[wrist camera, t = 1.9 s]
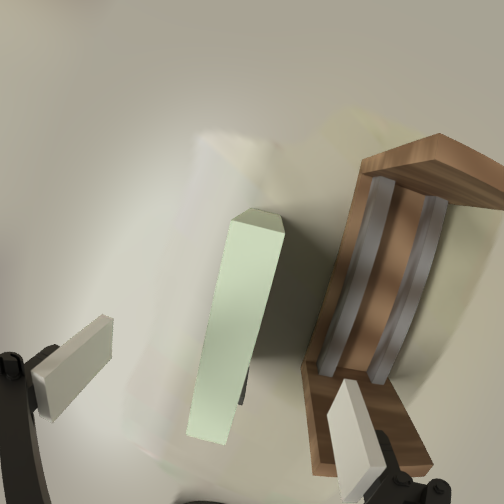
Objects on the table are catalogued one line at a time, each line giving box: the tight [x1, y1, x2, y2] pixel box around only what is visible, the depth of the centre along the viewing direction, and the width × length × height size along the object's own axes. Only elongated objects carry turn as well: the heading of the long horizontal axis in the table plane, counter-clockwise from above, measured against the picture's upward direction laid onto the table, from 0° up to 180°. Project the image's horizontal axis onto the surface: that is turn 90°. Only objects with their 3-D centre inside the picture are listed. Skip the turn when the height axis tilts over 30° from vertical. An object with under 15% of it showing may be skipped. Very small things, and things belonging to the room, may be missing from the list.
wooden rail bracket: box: [301, 133, 504, 477], centre depth 23 cm, size 23×10×16 cm, turn 166°
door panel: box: [186, 208, 285, 445], centre depth 26 cm, size 16×4×14 cm, turn 166°
